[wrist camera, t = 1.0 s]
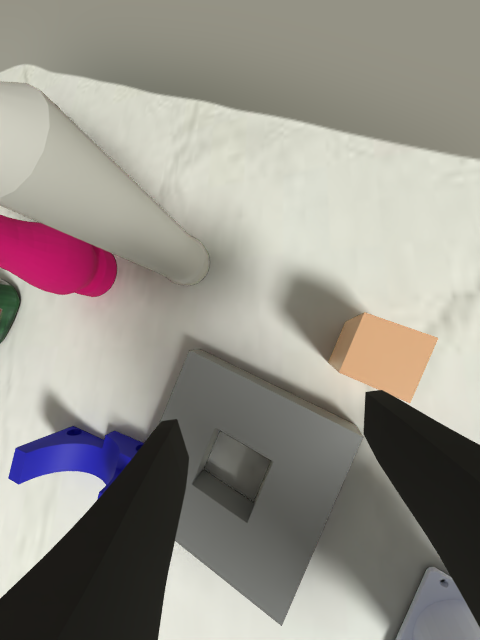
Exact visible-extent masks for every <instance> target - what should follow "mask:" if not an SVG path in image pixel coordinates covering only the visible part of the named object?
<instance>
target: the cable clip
mask: <svg viewBox="0 0 480 640" xmlns="http://www.w3.org/2000/svg"><path fill="white" fill-rule="evenodd" d="M143 444H144V443H142V442H140V441H137V440H135V439H133V438H131V437H128V436H126V435H124V434H121V433H119V432H117V431H113V432H111V433H109V434H107V435H105V439H104V440H103V439H101V438H98V437H96V436H94V435H92V434H90V433H88V432H85V431H83V430H81V429H79V428H77V427H74V426H72V427H69V428H67V429H64V430H61V431H59V432H56V433H54V434H51V435H48V436H46V437H43V438H40V439H38V440H35V441H32V442H30V443H27V444H25V445H22V446H19V447H17V448H16V449H15V453H14V457H13V461H12V465H11V469H10V473H9V479H10V480H12V481H14V482H15V483H17V484H21V483H23V482H25V481H28V480H30V479H33V478H35V477H38V476H42V475H45V474H49V473H54V472H61V471H80V472H86V473H90V474H93V475H95V476H97V477H99V478H100V479H101V480H103V481H104V483H105V484H106V486H105V487H104V488H103V489H102V490H101V491H100V492H99V495H98V499H99V498H100V496H101V495H102V494H103V493H104V492H105V491H106V489H107V488H108V487H109V486H110V485H111V484H112V482H113V481H114V480H115V479H116V478H117V477H118V475H119V474H120V473H121V472H122V470H123V469H124V468H125V467H126V465H127V464H128V463H129V462H130V461H131V459H132V458H133V457H134V456H135V454H136V453H137V452H138V450H139V449H140V448H141V447H142V445H143Z"/></svg>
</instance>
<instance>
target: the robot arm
mask: <svg viewBox="0 0 480 640" xmlns="http://www.w3.org/2000/svg"><path fill="white" fill-rule="evenodd" d="M364 435H365V437H366V439H367V441H368V443H369V445H370V447H371V449H372V451H373V453H374V455H375V457H376V459H377V461H378V462H379V464H380V466H381V467H382V469H383V470H384V472H385V473H386V475H387V476H388V478H389V479H390V481H391V482H392V484H393V485H394V487H395V488H396V490H397V492H398V493H399V495H400V496H401V498H402V499H403V501H404V502H405V504H406V505H407V507H408V508H409V510H410V511H411V513H412V514H413V516H414V517H415V519H416V520H417V522H418V523H419V525H420V526H421V528H422V529H423V531H424V532H425V534H426V535H427V537H428V538H429V540H430V542H431V543H432V545H433V546H434V548H435V550H436V551H437V553H438V554H439V556H440V558H441V560H442V561H443V563H444V565H445V567H446V568H447V570H448V572H449V574H450V575H451V577H450V576H449V575H447V574H445V573H444V572H442V571H440V570H439V569H437V568H435V567H429V568H427V570H426V572H425V574H424V576H423V579H422V581H421V583H420V585H419V588H418V590H417V592H416V594H415V597H414V599H413V601H412V603H411V606H410V608H409V610H408V612H407V615H406V617H405V619H404V621H403V624H402V626H401V628H400V631H399V633H398V635H397V637H396V640H480V445H479V444H477V443H475V442H473V441H471V440H469V439H468V438H466V437H464V436H462V435H460V434H458V433H457V432H455V431H453V430H451V429H449V428H448V427H446V426H444V425H442V424H441V423H439V422H437V421H435V420H434V419H432V418H430V417H428V416H427V415H425V414H423V413H421V412H420V411H418V410H416V409H415V408H413V407H411V406H409V405H408V404H406V403H404V402H403V401H401V400H399V399H397V398H396V397H394V396H392V395H390V394H389V393H387V392H385V391H383V390H378V391H371V392H366V395H365V416H364ZM188 465H189V455H188V452H187V449H186V446H185V442H184V439H183V436H182V433H181V429H180V426H179V423H178V420H177V419H172V420H165V421H161V422H160V424H159V425H158V426H157V427H156V429H155V430H154V431H153V433H152V434H151V435H150V436H149V438H148V439H147V440H146V441H145V443H144V444H143V445H142V447H141V448H140V449H139V450H138V452H137V453H136V454H135V456H134V457H133V458H132V459H131V461H130V462H129V463H128V464H127V465H126V467H125V468H124V469H123V470H122V472H121V473H120V474H119V475H118V477H117V478H116V479H115V480H114V481H113V482H112V484H111V485H110V486H109V487H108V488H107V489H106V491H105V492H104V493H103V494H102V495H101V496H100V498H99V499H98V500H97V501H96V502H95V503H94V505H93V506H92V507H91V508H90V509H89V510H88V511H87V512H86V514H85V515H84V516H83V517H82V518H81V519H80V520H79V521H78V522H77V523H76V524H75V525H74V526H73V528H72V529H71V530H70V531H69V532H68V533H67V534H66V535H65V536H64V537H63V538H62V539H61V540H60V541H59V542H58V543H57V544H56V545H55V546H54V547H53V548H52V549H51V550H50V551H49V552H48V553H47V554H46V555H45V556H44V557H43V558H42V559H41V560H40V561H39V562H38V563H37V564H36V565H35V566H34V567H33V568H32V569H31V570H30V571H29V572H28V573H27V574H26V575H25V576H23V577H22V578H21V579H20V580H19V581H18V582H17V583H16V584H15V585H14V586H13V587H12V588H11V589H10V590H9V591H8V592H7V593H6V594H5V595H4V596H3V597H2V598H1V599H0V640H158V634H159V627H160V620H161V613H162V606H163V599H164V592H165V586H166V581H167V576H168V570H169V565H170V561H171V556H172V551H173V547H174V542H175V538H176V533H177V528H178V524H179V519H180V514H181V510H182V505H183V500H184V495H185V490H186V484H187V475H188ZM443 579H444V580H445V581H444V582H440V580H443Z"/></svg>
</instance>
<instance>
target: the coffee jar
mask: <svg viewBox="0 0 480 640" xmlns="http://www.w3.org/2000/svg"><path fill="white" fill-rule="evenodd" d="M19 303H20V300H19V297H18V294H17V292H16V290H15V288H14V287H13V286H12V285H10V284H9V283H8V282H6V281H4V280H2V279H0V343H1V342H2V341H3V340H4V338H5V336H6V334H7V332H8V331H9V329H10V327H11V325H12V323H13V321H14V318H15V316H16V313H17V310H18V307H19Z"/></svg>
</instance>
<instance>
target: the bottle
mask: <svg viewBox="0 0 480 640" xmlns="http://www.w3.org/2000/svg"><path fill="white" fill-rule="evenodd" d="M0 206H3V207H5V208H7V209H10V210H12V211H14V212H17V213H19V214H21V215H24V216H26V217H28V218H31V219H33V220H35V221H38V222H40V223H42V224H45V225H47V226H49V227H52V228H54V229H56V230H59V231H61V232H63V233H66V234H68V235H70V236H73V237H75V238H77V239H80V240H82V241H84V242H87V243H89V244H91V245H94V246H96V247H98V248H101V249H103V250H106V251H108V252H110V253H113V254H115V255H117V256H120V257H122V258H124V259H127V260H129V261H131V262H134V263H136V264H138V265H141V266H143V267H145V268H148V269H150V270H152V271H155V272H157V273H159V274H162V275H164V276H165V277H166V278H167V279H169V280H170V281H172V282H173V283H176V284H180V285H186V286H189V285H193V284H197V283H198V282H200V281H201V280H202V279H204V277H205V276H206V274H207V272H208V270H209V265H210V260H209V254H208V252H207V251H206V249H205V247H204V246H203V244H202V243H201V242H200V241H199V240H197V239H196V238H194V237H192V236H190V235H189V234H188V233H187V232H186V231H185V230H184V229H182V228H181V227H180V226H179V225H178V224H177V223H176V222H175V221H174V220H173V219H172V218H171V217H170V216H169V215H168V214H167V213H166V212H165V211H164V210H163V209H162V208H161V207H160V206H159V205H158V204H157V203H156V202H155V201H154V200H153V199H152V198H151V197H150V196H149V195H148V194H147V193H146V192H144V191H143V190H142V189H141V188H140V187H139V186H138V185H137V184H136V183H135V182H134V181H133V180H132V179H131V178H130V177H129V176H128V175H127V174H126V173H125V172H124V171H123V170H122V169H121V168H120V167H119V166H118V165H117V164H116V163H115V162H114V161H113V160H112V159H111V158H110V157H109V156H107V155H106V154H105V153H104V152H103V151H102V150H101V149H100V148H99V147H98V146H97V145H96V144H95V143H94V142H93V141H92V140H91V139H90V138H89V137H88V136H87V135H86V134H85V133H84V132H83V131H82V130H81V129H80V128H79V127H78V126H77V125H76V124H75V123H74V122H73V121H72V120H70V119H69V118H68V117H67V116H66V115H65V114H64V113H63V112H62V111H61V110H60V109H59V108H58V107H57V106H56V105H55V104H54V103H53V102H52V101H51V100H50V99H49V98H48V97H47V96H46V95H45V94H44V93H43V92H42V91H41V90H39V89H37V88H35V87H33V86H31V85H29V84H27V83H16V82H0Z"/></svg>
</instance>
